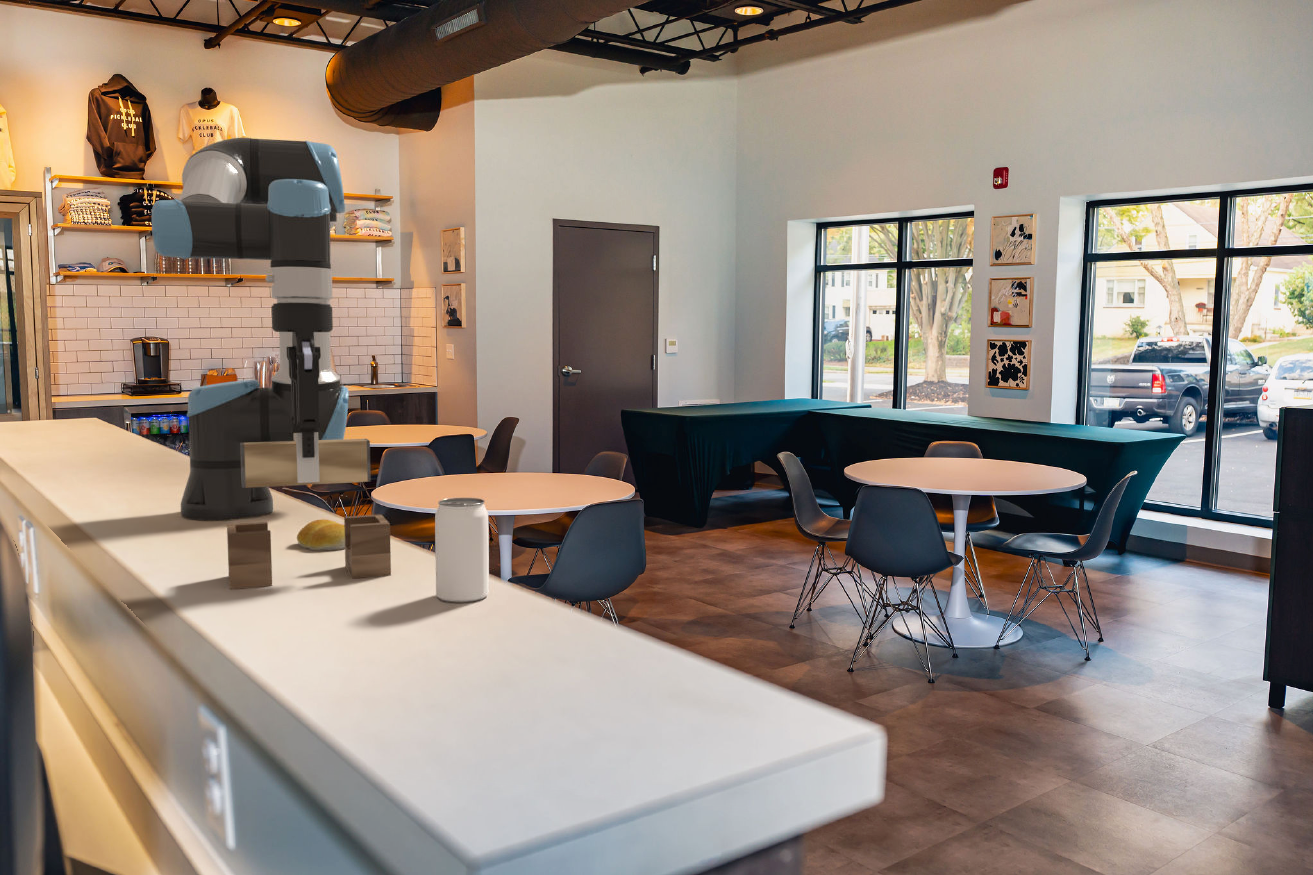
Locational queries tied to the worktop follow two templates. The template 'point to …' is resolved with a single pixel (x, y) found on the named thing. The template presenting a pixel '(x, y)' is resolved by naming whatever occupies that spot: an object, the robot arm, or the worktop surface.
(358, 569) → the post
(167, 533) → the worktop surface
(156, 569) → the worktop surface
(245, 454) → the rail
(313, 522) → the bread roll
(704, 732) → the worktop surface
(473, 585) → the can
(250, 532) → the post
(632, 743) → the worktop surface
